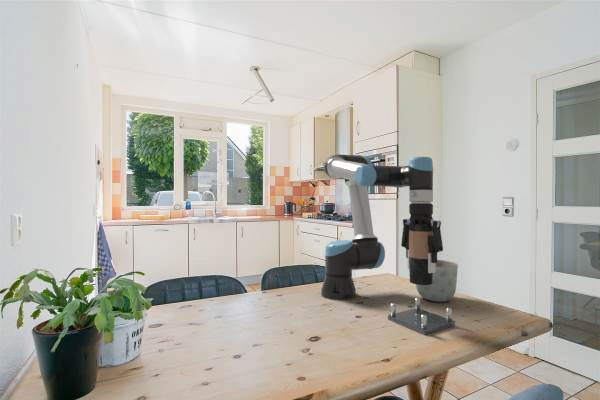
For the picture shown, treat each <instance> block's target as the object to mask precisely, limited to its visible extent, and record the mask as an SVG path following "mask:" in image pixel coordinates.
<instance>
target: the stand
mask: <svg viewBox="0 0 600 400" xmlns="http://www.w3.org/2000/svg"><path fill="white" fill-rule="evenodd" d="M414 299H415V302H414V303H415V304H414V305H415V306H414V307H415V308H412V309H407V310H404V311H403V310H402V311H399V312H397V310H396V305H397V304H396V303H393V302H391V303H390V314H388V315H387V319H388V321H391V322H393V323H396V324H397V325H400V326H402V327H405V328H407V329H410V330H412V331H415V332H417V333H419V334H421V335H422V336H423V335H424V336H426V335H429V334H433V333H437V332H439V331H443V330H445V329H448V328H451V327H455V325H456V323H455V322H456V321H455V320H453V319H452V318H453V315H452V314H453V313H452V312H453V310H452V309H453V308H451V307H446V317H444V316H441V315H440V314H439V315H438V314H436V313H433V312H430V311H427V310H424V309H422V308H421V298H420V297H415V298H414Z"/></svg>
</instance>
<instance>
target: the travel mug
mask: <svg viewBox="0 0 600 400" xmlns="http://www.w3.org/2000/svg"><path fill="white" fill-rule="evenodd" d="M431 225H432V224H411V223H409V270H408V271H409V283H410V284H413V285H416V284H417V285H431V284H432V277H433V273H428V253H429V252H430V249H429V247H428V235H429V236H431V235H432V234H433V231H432V226H431Z"/></svg>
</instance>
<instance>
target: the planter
mask: <svg viewBox="0 0 600 400" xmlns="http://www.w3.org/2000/svg"><path fill="white" fill-rule="evenodd" d="M458 269H459V264H458V263H456V262H453V261H450V260H443V259H437V263H435V273H433V277H432V284H431V285H417V284H415V288H416V291H417V293H418V294H419V296H420V297H421V298H423V299H425V300H427V301H430V302H431V301H432V302H435V303H436V302H438V303H442V302H448V301H450V300H451V299H453V297H454V296H455V294H456V290H457V282H458V281H457V279H458Z"/></svg>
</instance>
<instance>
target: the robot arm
mask: <svg viewBox="0 0 600 400" xmlns="http://www.w3.org/2000/svg"><path fill="white" fill-rule="evenodd" d="M372 162H373V161H372V160H371V159H370V158H369V157H368V156H366V155H360V154H359V155H358V154H355V155H354V154H334V155H331V156H329V157H328V158H327V159H326V160H325V162H324V164H323V165H324V166H323V170H324V173H325V174H326V176H328V177H329V178H333V179H338V180H344V184H345V186H347V187H348V190H349V192H348V193H349V200H350V208H351V215H352V216H351V217H352V224H353V233H354V234H353V235H354V236H353V238H352V239H351V240H349V239H342V240H341V239H339V240H334V241H330V242H328V243H326V246H325V249H324V250H325V252H324V256H325V257H324V259H325V260H324V263H325V268H324V270H325V273H324V274H325V276H324V280H323V283H322V286H321V291H320V292H321V296H322V297H323V298H326V299H329V300H339V301H340V300H341V301H343V300H350V299H354V298H355V297H356V296H357V290H356V286H355V283H354V280H353V271H358V270H373V269H378V268H380V267H382V265H383V262H384V260H385V257H386V250H385V247H384V244H383V243H382V242H379V239H378V237H377V236H376V234H374V228H373V226H374V225H373V222H372V221H373V220H372V211H371V206H370V198H369V191H368V187H388V188H389V187H392V188H405V187H408V191H409V193H408V195H409V197H408V198H409V199H408V200H409V202H410V203H409V205H408V207H409V208H408V209H409V211H408V212H409V214H410V217H409V218H403V220H402V225H403V228H402V236H401V247H402V248H405V251H406V252H405V257H406V259H407V269H409V223H411V224H432V225H431V226H432V231H433V234H432V235H431V236H429V235H428V247H429V249H430V252H429V253H428V273H435V263H437V260H438V253H441V252H444V247H443V240H442V232H441V225H442V221H441V220H436V219H433V214H434V205H433V203H432V202H434V189H433V187H434V166H433V159H432V158H431V157H429V156H414V157H411V158H410V159H409V160H408V165H404V166H401V165H400V166H398V165H379V164H378V165H377V164H373V163H372Z"/></svg>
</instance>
